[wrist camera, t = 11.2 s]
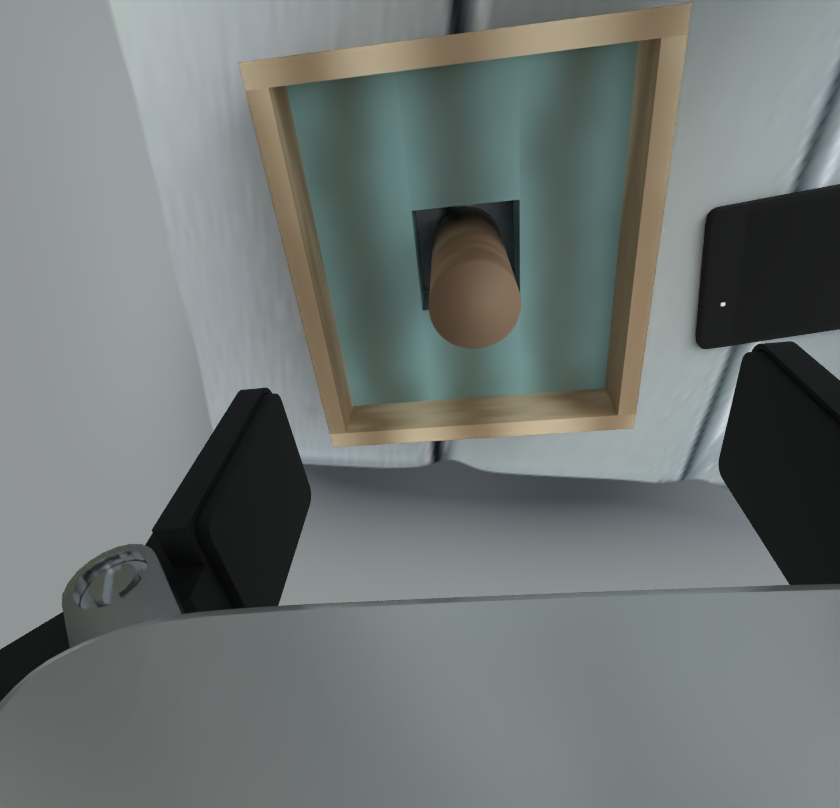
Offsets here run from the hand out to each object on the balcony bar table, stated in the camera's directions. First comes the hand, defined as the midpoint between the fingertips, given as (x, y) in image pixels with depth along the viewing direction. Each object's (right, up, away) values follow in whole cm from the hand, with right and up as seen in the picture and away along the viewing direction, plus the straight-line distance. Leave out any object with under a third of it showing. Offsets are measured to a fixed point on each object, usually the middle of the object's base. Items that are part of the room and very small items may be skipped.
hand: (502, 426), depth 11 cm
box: (+1, +10, +20) cm, 23 cm away
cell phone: (+24, +9, +20) cm, 33 cm away
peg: (+1, +10, +20) cm, 23 cm away
